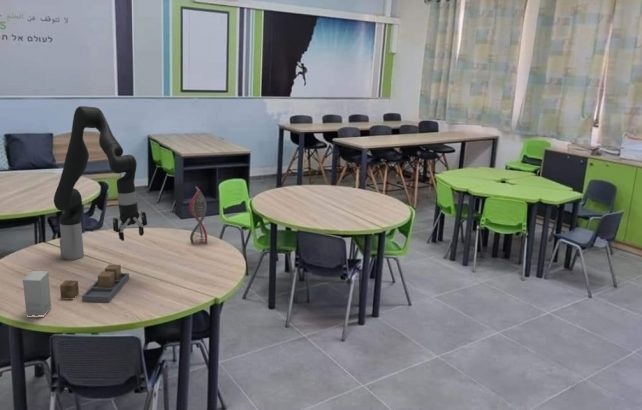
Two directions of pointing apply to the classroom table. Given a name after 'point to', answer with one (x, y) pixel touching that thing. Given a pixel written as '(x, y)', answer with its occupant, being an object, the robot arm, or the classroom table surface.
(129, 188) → the robot arm
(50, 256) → the classroom table surface
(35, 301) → the skincare box
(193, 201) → the dna model
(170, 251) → the classroom table surface
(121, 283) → the tray
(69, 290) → the block
